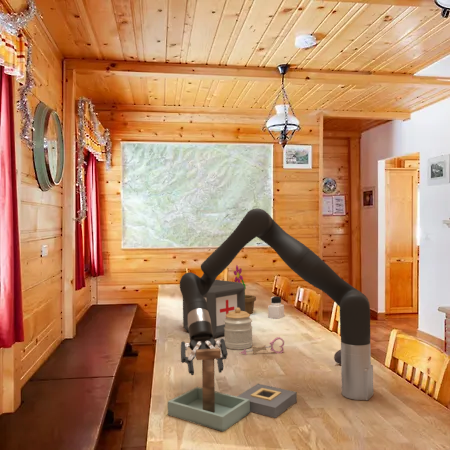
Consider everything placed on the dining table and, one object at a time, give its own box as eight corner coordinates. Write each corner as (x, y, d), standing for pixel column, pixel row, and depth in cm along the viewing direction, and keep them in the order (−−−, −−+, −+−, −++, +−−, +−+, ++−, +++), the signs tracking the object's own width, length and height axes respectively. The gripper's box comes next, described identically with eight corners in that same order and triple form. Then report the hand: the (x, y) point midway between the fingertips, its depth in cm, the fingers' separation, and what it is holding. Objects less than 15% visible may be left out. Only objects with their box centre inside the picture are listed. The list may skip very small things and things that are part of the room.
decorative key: (240, 361, 192) (285, 351, 194) (240, 362, 191) (286, 352, 193) (237, 345, 192) (282, 336, 194) (237, 346, 191) (283, 337, 193)
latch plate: (296, 401, 141) (296, 390, 141) (275, 418, 130) (275, 406, 130) (258, 392, 149) (258, 382, 149) (235, 407, 138) (234, 396, 138)
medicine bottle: (284, 316, 265) (284, 296, 265) (279, 319, 259) (278, 298, 259) (273, 315, 269) (273, 295, 269) (268, 317, 263) (267, 297, 263)
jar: (250, 350, 197) (249, 310, 197) (221, 349, 200) (220, 310, 200) (254, 342, 210) (253, 305, 210) (227, 341, 213) (226, 304, 213)
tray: (250, 413, 134) (249, 399, 133) (222, 431, 122) (222, 417, 122) (197, 398, 145) (196, 386, 145) (167, 414, 133) (167, 401, 133)
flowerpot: (229, 312, 280) (228, 264, 280) (249, 310, 286) (248, 263, 286) (239, 316, 267) (238, 266, 267) (260, 314, 273) (259, 265, 273)
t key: (219, 408, 136) (218, 347, 136) (221, 413, 133) (220, 350, 132) (196, 410, 135) (195, 349, 135) (197, 415, 131) (197, 352, 131)
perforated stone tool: (337, 367, 173) (336, 349, 173) (331, 363, 178) (330, 345, 178) (372, 364, 176) (372, 346, 176) (365, 360, 181) (365, 342, 181)
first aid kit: (211, 340, 216) (210, 288, 216) (180, 331, 235) (179, 283, 235) (248, 331, 233) (247, 282, 233) (217, 323, 252) (216, 278, 251)
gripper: (178, 321, 142) (184, 368, 131) (222, 318, 145) (231, 364, 134) (177, 333, 147) (182, 380, 136) (219, 330, 150) (228, 376, 139)
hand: (206, 372), depth 135 cm, fingers open, 8 cm apart
